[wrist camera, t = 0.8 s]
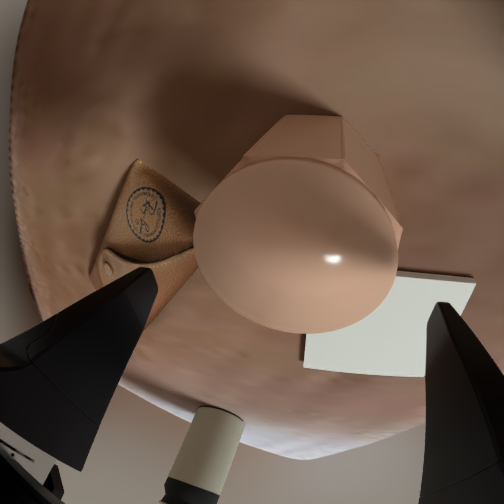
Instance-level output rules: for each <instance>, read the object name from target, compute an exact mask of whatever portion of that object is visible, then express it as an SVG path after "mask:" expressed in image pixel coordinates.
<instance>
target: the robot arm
mask: <svg viewBox="0 0 504 504" xmlns="http://www.w3.org/2000/svg"><path fill="white" fill-rule="evenodd" d="M157 293H158V284H157V281H156V279H155V276H154V273H153V271H152V269H151V268H148V267H138V268H136V269H135V270H133V271H131V272H129V273H127V274H125V275H124V276H122V277H120V278H118V279H116V280H115V281H113V282H111V283H109V284H107V285H106V286H104V287H102V288H100V289H99V290H97V291H95V292H93V293H92V294H90V295H88V296H86V297H85V298H83V299H81V300H79V301H78V302H76V303H74V304H72V305H71V306H69V307H67V308H66V309H64V310H62V311H61V312H59V313H58V314H55V315H54V316H52V317H50V318H49V319H47V320H45V321H43V322H42V323H40V324H38V325H36V326H35V327H33V328H31V329H29V330H27V331H25V332H23V333H21V334H19V335H17V336H15V337H14V338H12V339H10V340H8V341H6V342H4V343H2V344H0V504H65V503H64V502H62V501H61V498H62V496H63V494H64V489H63V485H62V481H61V477H60V473H59V469H58V466H57V465H55V461H56V460H59V461H61V462H63V463H65V464H66V465H69V466H70V467H72V468H74V469H76V470H78V471H80V472H81V471H82V469H83V467H84V464H85V461H86V459H87V456H88V454H89V451H90V449H91V446H92V444H93V441H94V438H95V436H96V434H97V431H98V429H99V425H100V424H101V421H102V419H103V417H104V414H105V412H106V410H107V407H108V405H109V403H110V400H111V398H112V396H113V394H114V391H115V389H116V387H117V385H118V383H119V380H120V378H121V376H122V374H123V372H124V369H125V367H126V365H127V363H128V361H129V359H130V357H131V355H132V353H133V350H134V348H135V346H136V344H137V342H138V340H139V338H140V336H141V334H142V332H143V330H144V327H145V325H146V322H147V319H148V317H149V314H150V312H151V309H152V306H153V304H154V301H155V299H156V296H157ZM425 383H426V433H425V453H424V464H423V474H422V483H421V491H420V498H419V503H418V504H504V375H503V374H502V372H501V371H500V369H499V368H498V366H497V365H496V363H495V362H494V360H493V359H492V358H491V356H490V355H489V353H488V352H487V350H486V349H485V348H484V346H483V345H482V344H481V342H480V341H479V340H478V338H477V337H476V336H475V334H474V333H473V332H472V330H471V329H470V328H469V326H468V325H467V324H466V323H465V321H464V320H463V319H462V317H461V316H460V315H459V314H458V312H457V311H456V310H455V309H454V308H453V306H452V305H451V304H450V303H448V302H437V303H436V304H435V306H434V308H433V310H432V313H431V315H430V317H429V319H428V322H427V328H426V365H425Z"/></svg>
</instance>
